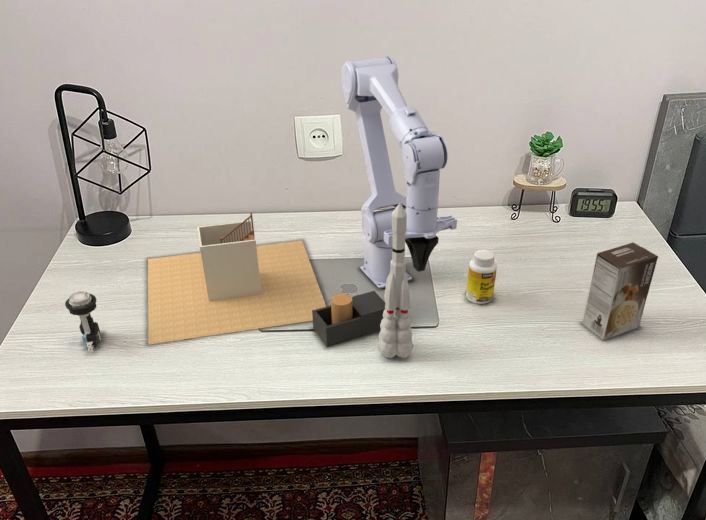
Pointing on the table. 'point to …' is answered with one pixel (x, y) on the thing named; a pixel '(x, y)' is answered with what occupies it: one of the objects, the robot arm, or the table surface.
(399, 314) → the rocket model
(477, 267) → the supplement bottle
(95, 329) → the push button
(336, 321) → the paper roll
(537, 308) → the table surface
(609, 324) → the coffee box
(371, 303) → the caddy
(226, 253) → the staircase
